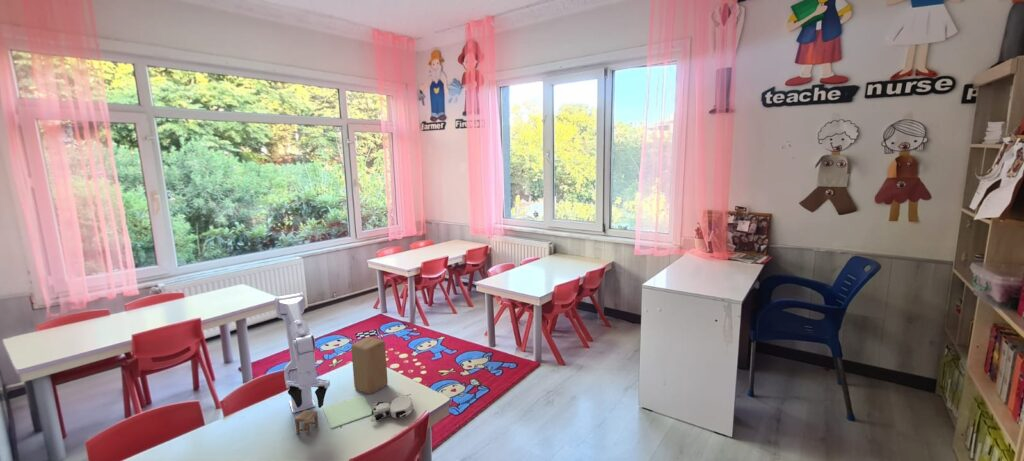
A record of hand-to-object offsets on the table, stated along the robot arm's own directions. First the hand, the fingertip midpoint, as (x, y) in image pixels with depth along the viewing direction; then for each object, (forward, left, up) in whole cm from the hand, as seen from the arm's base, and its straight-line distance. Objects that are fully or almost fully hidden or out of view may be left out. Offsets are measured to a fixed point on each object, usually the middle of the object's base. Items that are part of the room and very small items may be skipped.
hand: (310, 406), depth 147 cm
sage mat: (-5, +13, -10) cm, 17 cm away
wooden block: (-17, +25, -10) cm, 32 cm away
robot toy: (+7, +26, -10) cm, 29 cm away
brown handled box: (-1, -2, -10) cm, 10 cm away
